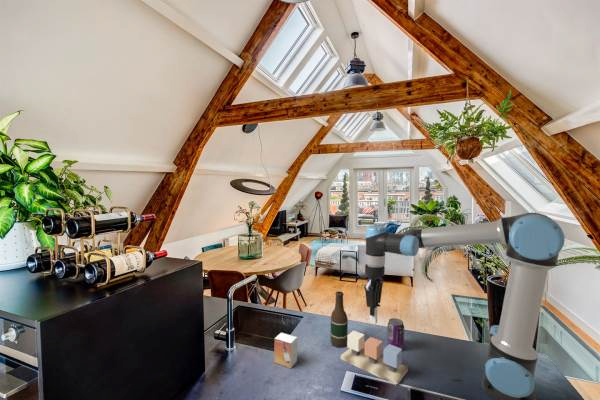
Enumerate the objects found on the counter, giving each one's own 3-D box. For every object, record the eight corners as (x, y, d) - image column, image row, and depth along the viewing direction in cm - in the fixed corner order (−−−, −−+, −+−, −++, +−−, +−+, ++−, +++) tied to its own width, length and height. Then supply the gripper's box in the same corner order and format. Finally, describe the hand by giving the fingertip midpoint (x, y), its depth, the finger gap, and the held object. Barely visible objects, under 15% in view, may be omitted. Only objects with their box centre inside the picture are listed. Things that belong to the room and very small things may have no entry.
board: (407, 370, 112) (408, 357, 111) (396, 385, 103) (397, 371, 103) (353, 347, 127) (354, 335, 127) (340, 359, 119) (340, 346, 118)
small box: (273, 363, 116) (273, 338, 115) (281, 355, 121) (281, 331, 120) (290, 369, 112) (291, 343, 112) (297, 361, 117) (297, 336, 117)
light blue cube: (401, 361, 110) (402, 348, 110) (396, 368, 106) (396, 355, 106) (388, 356, 113) (389, 343, 113) (383, 362, 109) (383, 349, 109)
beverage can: (405, 352, 123) (405, 326, 123) (388, 350, 125) (388, 324, 124) (402, 344, 130) (403, 318, 130) (386, 342, 132) (387, 317, 131)
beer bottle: (328, 346, 128) (329, 294, 127) (332, 337, 135) (332, 288, 134) (346, 349, 126) (346, 296, 124) (348, 340, 133) (349, 290, 132)
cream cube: (364, 346, 120) (364, 334, 120) (358, 351, 116) (358, 339, 116) (353, 342, 124) (353, 330, 123) (347, 347, 120) (347, 335, 120)
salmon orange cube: (382, 353, 115) (382, 341, 115) (376, 359, 111) (376, 346, 111) (370, 348, 119) (370, 336, 118) (364, 354, 115) (364, 342, 114)
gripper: (373, 259, 120) (371, 313, 122) (358, 266, 110) (356, 325, 112) (390, 263, 115) (388, 319, 117) (376, 270, 106) (374, 331, 107)
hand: (373, 322), depth 114 cm, fingers closed
